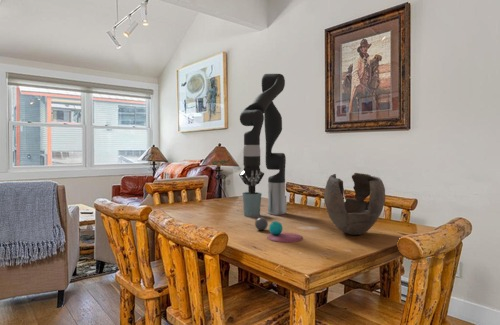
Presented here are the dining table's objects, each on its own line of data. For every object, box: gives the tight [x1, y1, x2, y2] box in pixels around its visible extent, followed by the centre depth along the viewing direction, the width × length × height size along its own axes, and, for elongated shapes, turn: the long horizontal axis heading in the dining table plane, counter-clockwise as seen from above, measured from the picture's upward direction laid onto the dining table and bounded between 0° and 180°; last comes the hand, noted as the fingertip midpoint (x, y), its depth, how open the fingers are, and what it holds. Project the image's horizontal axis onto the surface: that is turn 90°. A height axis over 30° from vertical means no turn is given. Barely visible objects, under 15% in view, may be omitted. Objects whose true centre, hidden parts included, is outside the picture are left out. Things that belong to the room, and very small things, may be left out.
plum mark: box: [267, 232, 303, 243], centre depth 135 cm, size 14×14×1 cm
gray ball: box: [254, 216, 269, 231], centre depth 147 cm, size 6×6×6 cm
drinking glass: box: [242, 191, 263, 218], centre depth 180 cm, size 10×10×12 cm
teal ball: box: [268, 220, 283, 235], centre depth 139 cm, size 6×6×6 cm
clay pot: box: [323, 172, 386, 236], centre depth 139 cm, size 24×24×25 cm
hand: (251, 193), depth 151 cm, fingers closed
